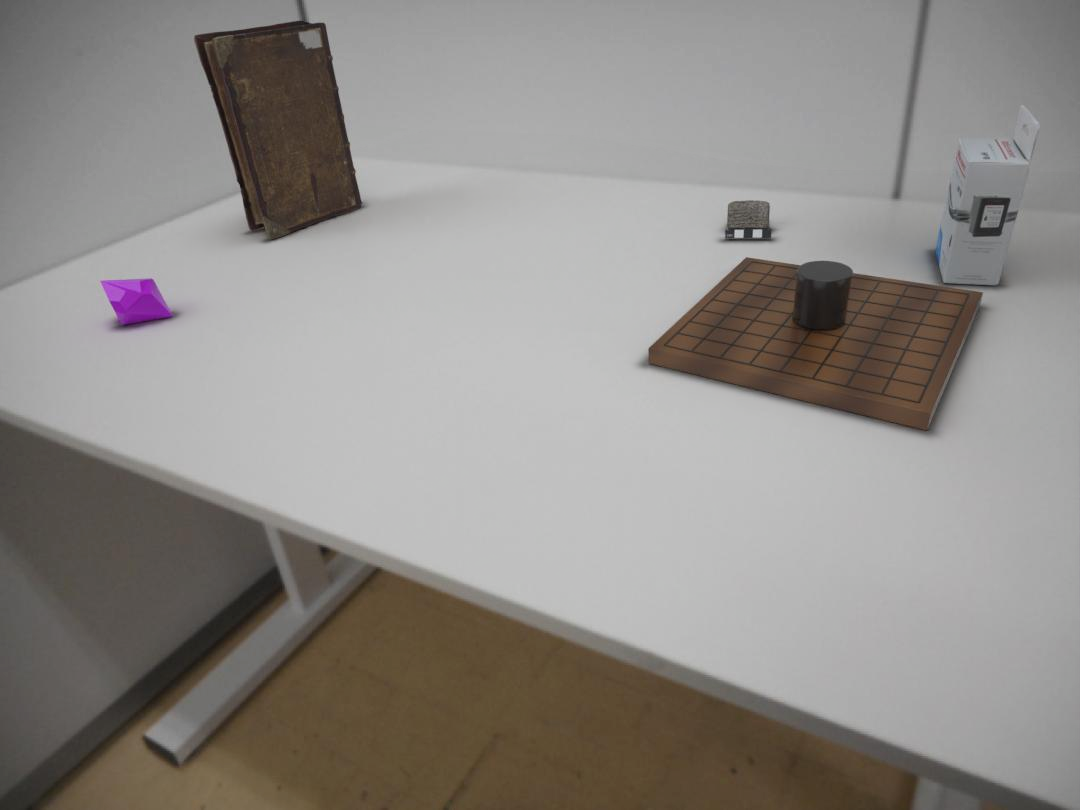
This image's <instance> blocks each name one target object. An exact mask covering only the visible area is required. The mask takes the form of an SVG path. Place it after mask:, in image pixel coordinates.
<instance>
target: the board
mask: <svg viewBox="0 0 1080 810" xmlns="http://www.w3.org/2000/svg"><path fill="white" fill-rule="evenodd" d="M800 265H801V264H796V263H788V262H781V261H774V260H767V259H761V258H754V257H748V256H746V257H745V258H743V260H742V261H741V262H740V263H738V264H737V265H736V266H735V267H734V268H733V269H732V270H730V271H729V272H728V274H726V275H725V276H724V277H723V278H722V279H721V280H720V281H719V282H717V284H716V285H715V286H714V287H713V288H712V289H710V290H709V292H707V293H706V294H705V295H704V296H703V297H702V298H700V300H699V301H697V302H696V303H695V304H694V305H693V306H692V307H691V308H690V309H689V310H688V311H686V313H685V314H684V315H682V316H681V317H680V318H679V319H678V320H677V321H676V322H675V323H673V325H671V327H670V328H668V329H667V330H666V331H665V332H664V333H663V334H661V336H660V337H659V338H658V339H657V340H655V342H653V344H651V345H650V346H649V347H648V349H647V350H648V364H649V365H653V366H659V367H662V368H667V369H671V370H673V371H679V372H682V373H683V372H684V373H687V374H691V375H696V376H700V377H703V378H707V379H712V380H716V381H720V382H723V383H728V384H733V385H737V386H742V387H745V388H749V389H753V390H758V391H762V392H766V393H770V394H775V395H779V396H783V397H787V398H791V399H795V400H798V401H804V402H807V403H811V404H814V405H815V404H816V405H819V406H824V407H828V408H833V409H836V410H841V411H844V412H849V413H853V414H856V415H861V416H865V417H870V418H873V419H878V420H882V421H886V422H890V423H895V424H899V425H903V426H905V427H906V426H907V427H910V428H914V429H915V428H916V429H919V430H924V431H928V429H929V427H930V425H931V422H932V420H933V418H934V415H935V413H936V411H937V408H938V406H939V403H940V401H941V400H942V399H941V398H942V397H943V394H944V392H945V390H946V388H947V385H948V382H949V380H950V378H951V375H952V372H953V370H954V367H955V365H956V364H957V362H958V359H959V357H960V354H961V352H962V349H963V347H964V344H965V342H966V340H967V337H968V335H969V333H970V330H971V328H972V326H973V323H974V321H975V319H976V317H977V314H978V311H979V309H980V307H981V303H982V299H983V294H984V292H983V291H977V290H969V289H964V288H956V287H949V286H944V285H937V284H929V283H923V282H916V281H909V280H903V279H902V280H901V279H896V278H889V277H882V276H875V275H869V274H863V273H862V274H861V273H855V272H853V276H852V282H851V289H850V296H849V302H848V309H847V316H846V321H845V323H844V324H843V325H842V326H840V327H838V328H835V329H829V330H815V329H809V328H805V327H802V326H800V325H798V324H797V323H795V322H794V320H793V318H792V314H793V305H794V295H795V286H796V277H797V269H798V267H799V266H800Z"/></svg>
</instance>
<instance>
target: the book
mask: <svg viewBox="0 0 1080 810" xmlns="http://www.w3.org/2000/svg"><path fill="white" fill-rule="evenodd" d="M193 43H194V45H195V48H196V51H197V55H198V58H199V61H200V64H201V67H202V69H203V71H204V74H205V76H206V80H207V83H208V85H209V88H210V92H211V93H212V94H211V95H212V98H213V101H214V104H215V107H216V110H217V114H218V117H219V120H220V123H221V128H222V131H223V134H224V138H225V142H226V145H227V149H228V153H229V156H230V160H231V162H232V166H233V170H234V174H235V178H236V182H237V183H238V185H239V189H240V194H241V198H242V205H243V211H244V214H245V219H246V222H247V227H248V229H249V231H250V232H253V231H256V230H259V229H263V228H264V230H265V234H266V237H267V239H268V240H274V239H276V238H280V237H283V236H286V235H289V234H290V233H293V232H295V231H298V230H300V229H303V228H306V227H309V226H311V225H313V224H316V223H319V222H322V221H325V220H328V219H330V218H333V217H336V216H341V215H345V214H348V213H351V212H354V211H356V210H358V209H359V208H360V207H361V206H362V204H363V202H362V198H361V193H360V189H359V185H358V181H357V176H356V173H357V171H356V169H355V166H354V161H353V157H352V152H351V143H350V141H349V137H348V132H347V127H346V123H345V115H344V112H343V107H342V102H341V97H340V93H339V89H340V88H339V86H338V84H337V78H336V73H335V68H334V64H333V59H334V57H333V55H332V52H331V48H330V47H331V46H330V41H329V37H328V30H327V25H326V24H325V22H313V23H311V22H309V21H305V20H294V21H287V22H282V23H276V24H271V25H264V26H263V25H262V26H257V27H256V26H255V27H250V28H244V29H233V30H224V31H213V32H206V33H199V34H195V35H194V36H193Z"/></svg>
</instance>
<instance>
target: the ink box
mask: <svg viewBox="0 0 1080 810" xmlns="http://www.w3.org/2000/svg"><path fill="white" fill-rule="evenodd" d="M1025 128H1027V130H1028V135H1027V134H1026V132H1025ZM1040 130H1041V124H1040V122H1039V121H1038V120H1037V119H1036V117H1035V116H1034V114H1032V112H1031V111H1030V110H1029V109H1028V108H1027V107H1026V105H1025V104H1021V106H1020V107H1019V111H1018V115H1017V119H1016V123H1015V129H1014V133H1013V137H959V140H958V144H957V148H956V153H955V157H954V163H953V166H952V167H953V168H952V171H951V175H950V181H949V185H948V186H949V187H948V189H947V195H946V199H945V203H944V204H945V205H944V209H943V214H942V218H941V222H940V227H939V232H938V237H937V241H936V246H935V255H936V259H937V263H938V267H939V271H940V275H941V278H942V282H943V283H944V284H955V285H956V284H959V285H976V286H977V285H979V286H998V285H999V284H1000V280H1001V276H1002V273H1003V269H1004V266H1005V265H1004V264H1005V261H1006V257H1007V254H1008V250H1009V247H1010V243H1011V240H1012V236H1013V233H1014V228H1015V224H1016V221H1017V217H1018V214H1019V209H1020V206H1021V203H1022V199H1023V196H1024V192H1025V188H1026V184H1027V180H1028V177H1029V173H1030V169H1031V165H1032V161H1033V157H1034V153H1035V149H1036V146H1037V142H1038V138H1039V136H1040V135H1039V134H1040Z"/></svg>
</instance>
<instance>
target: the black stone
mask: <svg viewBox="0 0 1080 810" xmlns="http://www.w3.org/2000/svg"><path fill="white" fill-rule="evenodd" d="M799 265H800V266H799V267H798V269H797V277H796V286H795V295H794V305H793V314H792V318H793V320H794V322H795V323H797V324H798V325H800V326H802V327H805V328H809V329H815V330H829V329H835V328H838V327H840V326H842V325H843V324H844V323H845V321H846V316H847V309H848V302H849V296H850V289H851V282H852V276H853V273H854V271H853V269H852V268H851V267H850V266H848V265H847V264H845V263H841V262H837V261H832V260H814V261H813V260H811V261H808V262H805V263H802V264H799Z"/></svg>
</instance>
